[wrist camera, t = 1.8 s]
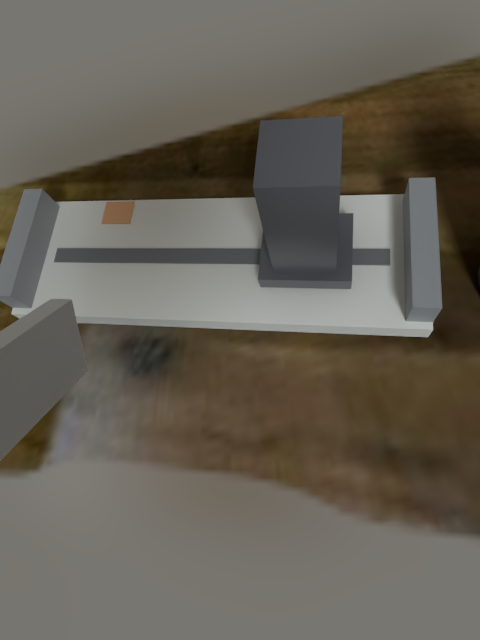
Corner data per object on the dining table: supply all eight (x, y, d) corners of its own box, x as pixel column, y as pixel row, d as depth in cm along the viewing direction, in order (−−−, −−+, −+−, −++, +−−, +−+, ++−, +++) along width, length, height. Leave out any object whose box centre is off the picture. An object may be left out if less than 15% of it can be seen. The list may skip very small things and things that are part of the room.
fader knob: (352, 223, 30) (364, 106, 21) (350, 289, 29) (363, 194, 19) (266, 223, 31) (241, 113, 22) (260, 287, 30) (230, 197, 20)
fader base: (422, 206, 32) (434, 170, 28) (427, 337, 28) (442, 316, 25) (54, 212, 38) (25, 183, 34) (23, 320, 35) (-12, 301, 31)
